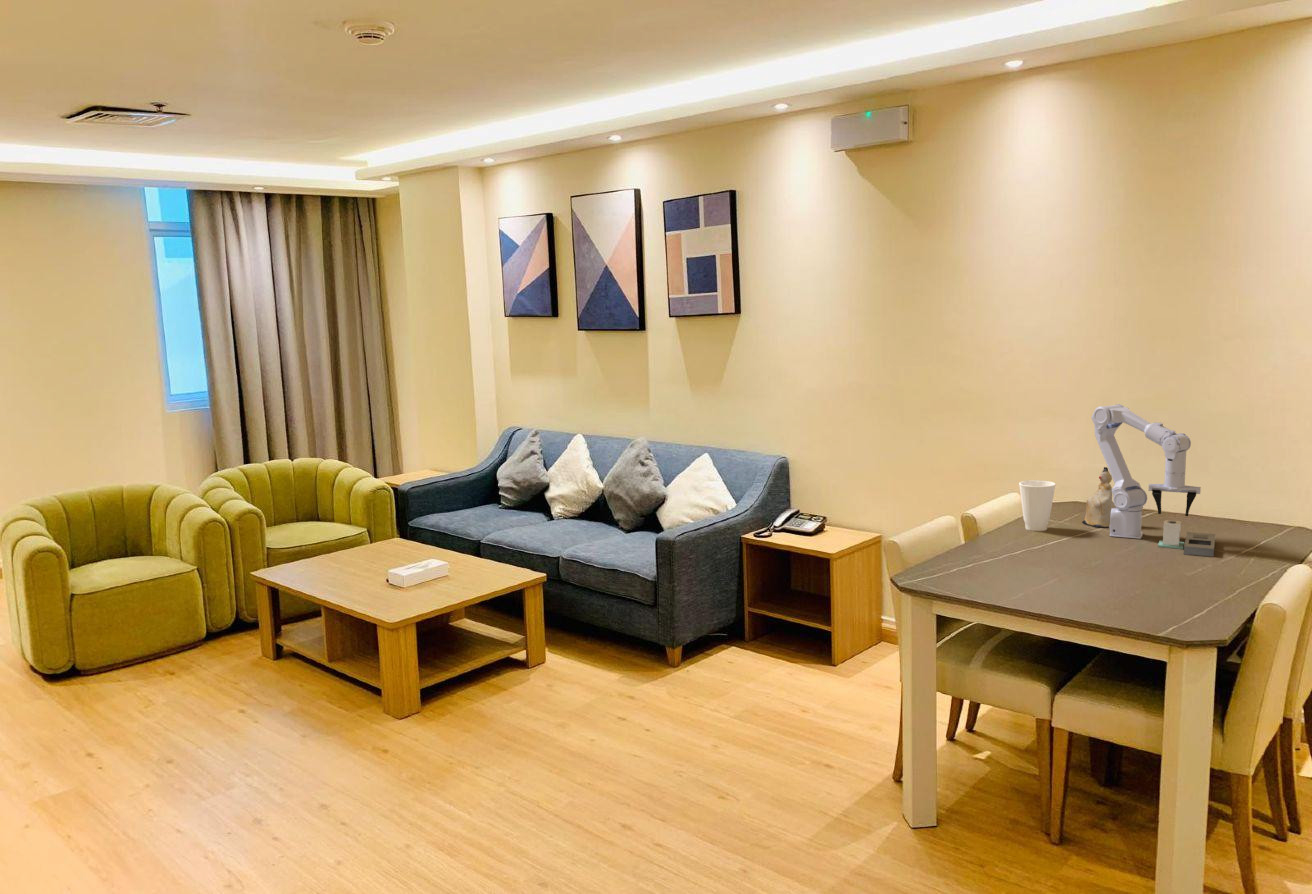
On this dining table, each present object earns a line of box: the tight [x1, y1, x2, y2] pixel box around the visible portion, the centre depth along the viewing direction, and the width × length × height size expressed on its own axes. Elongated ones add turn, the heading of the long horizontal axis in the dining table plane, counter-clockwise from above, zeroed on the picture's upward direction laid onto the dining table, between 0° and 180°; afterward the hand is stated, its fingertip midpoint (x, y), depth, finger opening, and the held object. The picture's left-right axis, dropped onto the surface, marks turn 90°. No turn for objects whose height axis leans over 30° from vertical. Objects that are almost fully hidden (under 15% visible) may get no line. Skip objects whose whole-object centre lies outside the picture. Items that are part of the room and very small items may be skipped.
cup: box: [1018, 479, 1057, 532], centre depth 345 cm, size 12×12×16 cm
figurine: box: [1081, 466, 1117, 529], centre depth 348 cm, size 12×10×20 cm
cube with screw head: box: [1162, 520, 1182, 546], centre depth 317 cm, size 4×4×7 cm
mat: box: [1157, 539, 1185, 550], centre depth 318 cm, size 7×7×1 cm
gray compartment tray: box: [1183, 531, 1216, 558], centre depth 314 cm, size 8×20×3 cm, turn 150°
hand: (1173, 514), depth 317 cm, fingers open, 7 cm apart
